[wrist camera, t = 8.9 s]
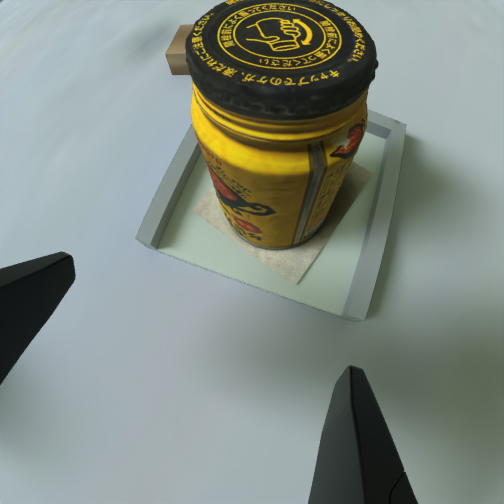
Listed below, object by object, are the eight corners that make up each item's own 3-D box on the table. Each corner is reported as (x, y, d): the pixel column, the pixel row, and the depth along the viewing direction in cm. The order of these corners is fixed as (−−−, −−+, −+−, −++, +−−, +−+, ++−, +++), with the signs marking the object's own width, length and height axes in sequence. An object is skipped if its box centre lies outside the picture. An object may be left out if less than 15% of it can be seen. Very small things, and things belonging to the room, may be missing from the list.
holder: (355, 321, 17) (364, 320, 15) (146, 246, 19) (135, 238, 17) (397, 138, 20) (406, 124, 18) (225, 86, 21) (223, 70, 19)
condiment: (191, 211, 18) (104, 60, 7) (276, 116, 20) (280, -47, 8) (294, 286, 17) (353, 199, 5) (371, 175, 18) (457, 28, 7)
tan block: (208, 74, 22) (203, 53, 19) (172, 74, 22) (165, 54, 20) (219, 44, 23) (216, 24, 20) (186, 44, 23) (180, 25, 20)
